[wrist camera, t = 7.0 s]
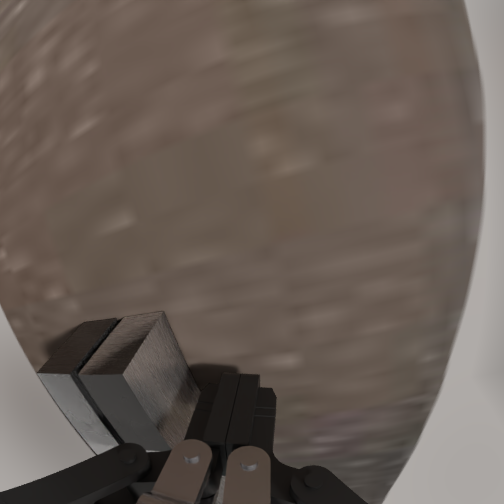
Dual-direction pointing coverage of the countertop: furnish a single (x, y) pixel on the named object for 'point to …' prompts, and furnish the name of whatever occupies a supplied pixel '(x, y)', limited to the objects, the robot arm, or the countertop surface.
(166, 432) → the arm
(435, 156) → the countertop surface
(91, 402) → the base
